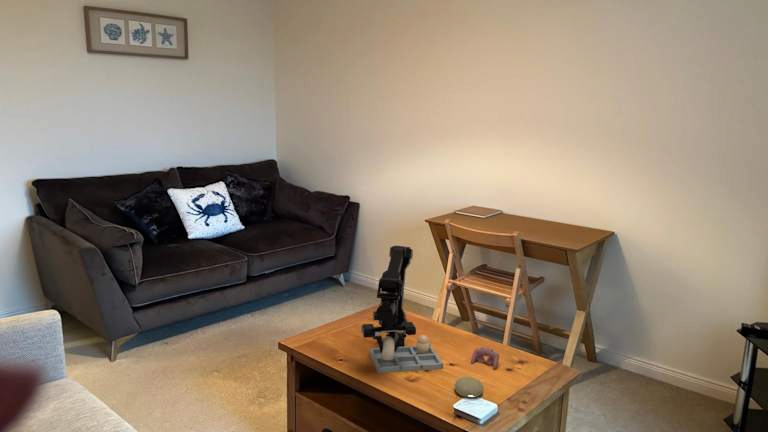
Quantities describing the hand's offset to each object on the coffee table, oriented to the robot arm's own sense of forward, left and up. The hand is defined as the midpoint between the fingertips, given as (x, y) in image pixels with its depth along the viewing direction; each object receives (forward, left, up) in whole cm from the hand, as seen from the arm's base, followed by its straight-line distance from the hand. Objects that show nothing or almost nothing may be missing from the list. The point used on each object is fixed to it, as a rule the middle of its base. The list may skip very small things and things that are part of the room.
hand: (387, 351), depth 210 cm
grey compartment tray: (-8, -4, -6) cm, 10 cm away
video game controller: (-36, +3, -6) cm, 37 cm away
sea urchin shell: (-23, +21, -6) cm, 32 cm away
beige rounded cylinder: (-15, -7, -6) cm, 18 cm away
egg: (0, 0, -2) cm, 2 cm away
